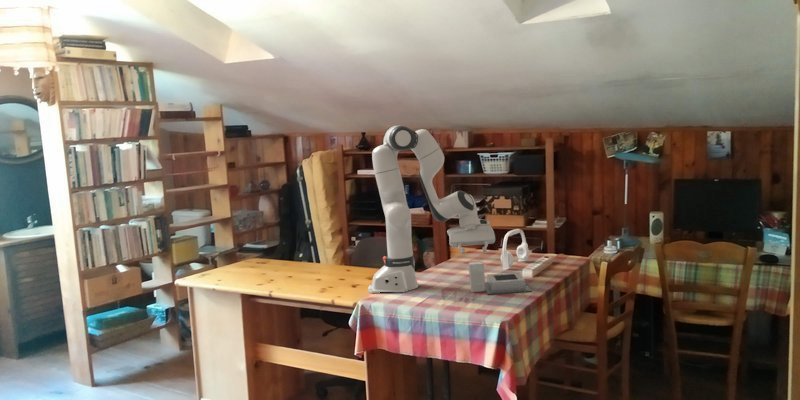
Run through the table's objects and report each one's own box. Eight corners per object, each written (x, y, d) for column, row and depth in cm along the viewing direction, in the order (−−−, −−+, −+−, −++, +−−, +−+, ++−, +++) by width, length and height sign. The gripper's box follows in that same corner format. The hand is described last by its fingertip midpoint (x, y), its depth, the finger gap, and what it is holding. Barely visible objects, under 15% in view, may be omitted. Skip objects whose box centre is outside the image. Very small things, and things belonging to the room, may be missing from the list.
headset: (511, 271, 303) (509, 234, 301) (498, 269, 308) (496, 233, 306) (531, 262, 318) (530, 226, 316) (519, 260, 323) (517, 225, 321)
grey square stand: (488, 295, 266) (487, 284, 266) (482, 284, 284) (481, 273, 284) (531, 291, 266) (531, 281, 266) (522, 281, 284) (522, 270, 284)
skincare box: (484, 288, 277) (482, 261, 275) (485, 291, 272) (484, 263, 271) (469, 289, 277) (468, 262, 275) (471, 292, 272) (469, 264, 271)
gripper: (446, 224, 287) (450, 250, 279) (492, 220, 287) (497, 246, 279) (446, 232, 292) (450, 257, 284) (491, 228, 292) (496, 254, 284)
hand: (474, 252), depth 281 cm, fingers open, 8 cm apart
